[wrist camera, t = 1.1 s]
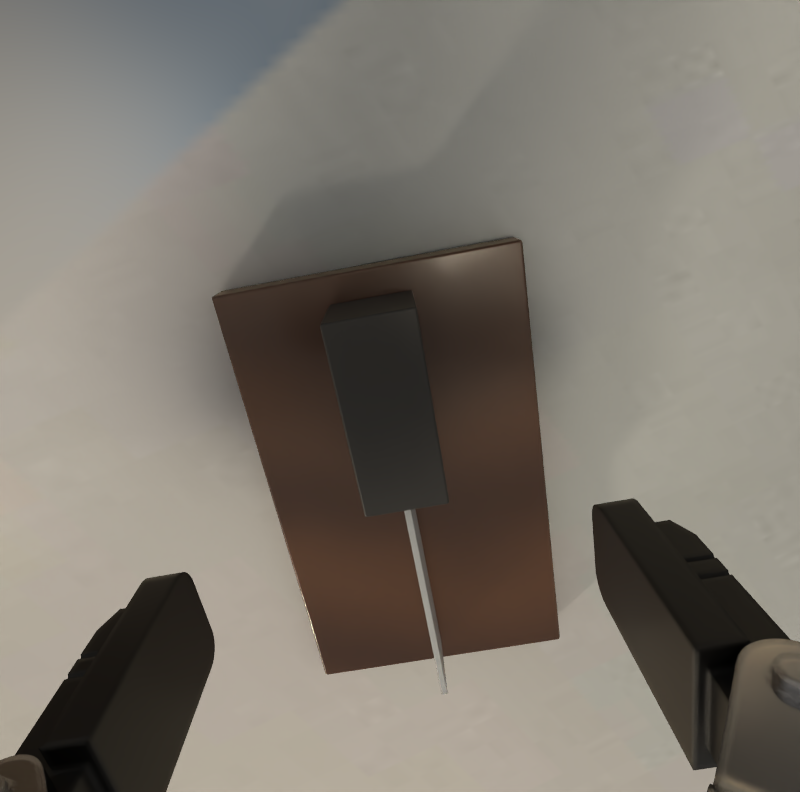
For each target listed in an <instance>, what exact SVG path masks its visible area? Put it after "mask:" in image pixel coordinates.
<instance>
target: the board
mask: <svg viewBox="0 0 800 792" xmlns="http://www.w3.org/2000/svg"><path fill="white" fill-rule="evenodd" d="M408 290H411V291H412V292H413V295H414V299H415V303H416V307H417V312H418V318H419V324H420V330H421V336H422V342H423V348H424V354H425V360H426V366H427V372H428V378H429V383H430V389H431V395H432V401H433V407H434V413H435V419H436V425H437V431H438V437H439V443H440V449H441V455H442V460H443V466H444V472H445V478H446V484H447V490H448V496H449V503H448V504H443V505H437V506H431V507H425V508H419V509H415V510H416V515H417V520H418V525H419V530H420V535H421V540H422V546H423V551H424V556H425V561H426V566H427V571H428V576H429V581H430V586H431V591H432V597H433V602H434V607H435V612H436V617H437V622H438V627H439V632H440V637H441V643H442V652H443V657H445V656H451V655H458V654H464V653H471V652H477V651H484V650H490V649H497V648H503V647H510V646H516V645H523V644H529V643H536V642H542V641H549V640H555V639H559V637H560V635H559V624H558V614H557V603H556V593H555V582H554V572H553V561H552V551H551V540H550V529H549V519H548V508H547V498H546V487H545V477H544V466H543V455H542V445H541V434H540V424H539V413H538V403H537V392H536V382H535V371H534V360H533V350H532V339H531V329H530V318H529V308H528V297H527V286H526V276H525V265H524V255H523V244H522V241H521V240H520V239H517V238H515V237H511V238H505V239H500V240H494V241H489V242H484V243H478V244H473V245H467V246H462V247H457V248H451V249H446V250H441V251H435V252H430V253H424V254H419V255H414V256H408V257H403V258H397V259H392V260H387V261H381V262H376V263H370V264H365V265H360V266H354V267H349V268H343V269H338V270H333V271H327V272H322V273H317V274H311V275H306V276H300V277H295V278H290V279H284V280H279V281H273V282H268V283H263V284H257V285H252V286H246V287H241V288H236V289H230V290H225V291H221V292H220V293H218V294H217V295H215V296H214V297H212V300H213V304H214V307H215V310H216V313H217V317H218V320H219V323H220V327H221V330H222V333H223V337H224V340H225V343H226V346H227V350H228V353H229V356H230V360H231V363H232V366H233V370H234V373H235V376H236V379H237V383H238V386H239V389H240V393H241V396H242V399H243V402H244V406H245V409H246V412H247V416H248V419H249V422H250V426H251V429H252V432H253V435H254V439H255V442H256V445H257V449H258V452H259V455H260V459H261V462H262V465H263V468H264V472H265V475H266V478H267V482H268V485H269V488H270V492H271V495H272V498H273V501H274V505H275V508H276V511H277V515H278V518H279V521H280V525H281V528H282V531H283V534H284V538H285V541H286V544H287V548H288V551H289V554H290V558H291V561H292V564H293V567H294V571H295V574H296V577H297V581H298V584H299V587H300V590H301V594H302V597H303V600H304V604H305V607H306V610H307V614H308V617H309V620H310V623H311V627H312V630H313V633H314V637H315V640H316V643H317V647H318V650H319V653H320V656H321V660H322V663H323V666H324V670H325V673H326V674H334V673H341V672H347V671H354V670H360V669H367V668H373V667H380V666H386V665H393V664H399V663H406V662H412V661H419V660H425V659H432V658H434V654H433V649H432V644H431V639H430V635H429V630H428V625H427V620H426V615H425V610H424V605H423V600H422V596H421V591H420V586H419V581H418V576H417V571H416V566H415V561H414V557H413V552H412V547H411V542H410V537H409V532H408V527H407V522H406V518H405V513H404V511H401V512H395V513H389V514H383V515H377V516H371V517H365V515H364V511H363V507H362V503H361V499H360V494H359V490H358V486H357V482H356V477H355V473H354V469H353V465H352V460H351V456H350V452H349V448H348V444H347V439H346V435H345V431H344V427H343V422H342V418H341V414H340V410H339V405H338V401H337V397H336V393H335V389H334V384H333V380H332V376H331V372H330V367H329V363H328V359H327V355H326V350H325V346H324V342H323V338H322V334H321V329H320V324H321V322H322V320H323V318H324V316H325V314H326V312H327V310H328V307H329V306H330V305H332V304H337V303H343V302H348V301H354V300H359V299H365V298H370V297H376V296H381V295H387V294H392V293H397V292H403V291H408Z"/></svg>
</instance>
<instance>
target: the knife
mask: <svg viewBox="0 0 800 792" xmlns="http://www.w3.org/2000/svg"><path fill="white" fill-rule="evenodd" d="M320 329H321V334H322V338H323V342H324V346H325V350H326V355H327V359H328V363H329V367H330V372H331V376H332V380H333V384H334V389H335V393H336V397H337V401H338V405H339V410H340V414H341V418H342V422H343V427H344V431H345V435H346V439H347V444H348V448H349V452H350V456H351V460H352V465H353V469H354V473H355V477H356V482H357V486H358V490H359V494H360V499H361V503H362V507H363V511H364V515H365V517H371V516H377V515H383V514H389V513H395V512H401V511H404V513H405V518H406V522H407V527H408V532H409V537H410V542H411V547H412V552H413V557H414V561H415V566H416V571H417V576H418V581H419V586H420V591H421V596H422V600H423V605H424V610H425V615H426V620H427V625H428V630H429V635H430V639H431V644H432V649H433V654H434V659H435V664H436V669H437V674H438V678H439V683H440V688H441V693H442V695H443V694H447V685H446V677H445V668H444V660H443V652H442V643H441V637H440V632H439V627H438V622H437V617H436V612H435V607H434V602H433V597H432V591H431V586H430V581H429V576H428V571H427V566H426V561H425V556H424V551H423V546H422V540H421V535H420V530H419V525H418V520H417V515H416V510H415V509H419V508H425V507H431V506H437V505H443V504H448V503H449V496H448V490H447V484H446V478H445V472H444V466H443V460H442V455H441V449H440V443H439V437H438V431H437V425H436V419H435V413H434V407H433V401H432V395H431V389H430V383H429V378H428V372H427V366H426V360H425V354H424V348H423V342H422V336H421V330H420V324H419V318H418V312H417V307H416V303H415V299H414V295H413V292H412V291H411V290H408V291H403V292H397V293H392V294H387V295H381V296H376V297H370V298H365V299H359V300H354V301H348V302H343V303H337V304H332V305H330V306H329V307H328V310H327V312H326V314H325V316H324V318H323V320H322V322H321V324H320Z"/></svg>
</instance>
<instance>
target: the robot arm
mask: <svg viewBox="0 0 800 792" xmlns="http://www.w3.org/2000/svg"><path fill="white" fill-rule="evenodd" d="M592 520H593V535H594V551H595V566H596V575H597V580H598V585H599V588H600V592H601V595H602V597H603V600H604V602H605V604H606V606H607V608H608V610H609V612H610V614H611V616H612V618H613V619H614V621H615V623H616V625H617V627H618V629H619V631H620V633H621V635H622V636H623V638H624V640H625V642H626V644H627V646H628V648H629V650H630V651H631V653H632V655H633V657H634V659H635V661H636V663H637V665H638V667H639V668H640V670H641V672H642V674H643V676H644V678H645V680H646V682H647V684H648V685H649V687H650V689H651V691H652V693H653V695H654V697H655V699H656V700H657V702H658V704H659V706H660V708H661V710H662V712H663V714H664V716H665V717H666V719H667V721H668V723H669V725H670V727H671V729H672V731H673V733H674V734H675V736H676V738H677V740H678V742H679V744H680V746H681V748H682V750H683V751H684V753H685V755H686V757H687V759H688V761H689V763H690V765H691V766H692V768H693V770H698V769H705V768H712V767H717V769H716V774H715V779H714V783H713V785H712V784H710V785H709V787H708V790H707V792H800V642H798V641H793V640H790V639H789V637H788V636H787V635H786V634H785V633H784V632H783V631H782V630H781V629H780V628H779V626H778V625H777V624H776V623H775V622H774V621H773V620H772V619H771V618H770V616H769V615H768V614H767V613H766V612H765V611H764V610H763V609H762V608H761V606H760V605H759V604H758V603H757V602H756V601H755V600H754V599H753V598H752V596H751V595H750V594H749V593H748V592H747V591H746V590H745V589H744V588H743V586H742V585H741V584H740V583H739V582H738V581H737V580H736V579H735V578H734V576H733V575H729V573H728V570H727V569H726V568H725V566H724V565H723V564H722V563H721V562H720V561H719V560H718V559H717V558H714V555H713V553H712V552H711V551H710V550H709V549H708V548H707V546H706V545H705V544H704V543H703V542H702V541H701V540H700V539H699V538H698V536H697V535H696V534H694V533H692V532H690V531H688V530H687V529H685V528H683V527H681V526H680V525H678V524H676V523H674V522H672V521H671V520H667V521H661V522H654V521H653V520H652V518H651V517H650V516H649V515H648V513H647V512H646V511H645V510H644V508H643V507H642V506H641V505H640V504H639V502H638V501H637V500H635V499H627V500H621V501H615V502H609V503H603V504H597V505H594V506H593V509H592ZM214 651H215V645H214V636H213V632H212V629H211V626H210V624H209V621H208V619H207V616H206V613H205V611H204V608H203V606H202V603H201V600H200V598H199V595H198V593H197V590H196V587H195V585H194V582H193V580H192V578H191V576H190V575H189V574H188V573H186V572H182V573H176V574H170V575H164V576H158V577H152V578H147V579H145V580H144V581H143V582H142V583H141V585H140V586H139V588H138V589H137V591H136V593H135V594H134V596H133V597H132V599H131V601H130V602H129V604H128V605H127V607H126V608H125V609H120V610H119V611H118V612H117V613H115V614H114V615H113V616H112V617H111V618H110V619H109V620H108V621H107V622H106V623H105V624H104V625H102V626H101V627H100V628H99V629H98V630H97V631H96V633H95V634H94V636H93V637H92V639H91V640H90V642H89V643H88V645H87V646H86V648H85V649H84V651H83V652H82V654H81V659H78V660H77V661H76V663H75V664H74V666H73V667H72V669H71V671H70V672H69V674H68V679H66V680H64V681H63V683H62V684H61V686H60V687H59V689H58V690H57V692H56V693H55V695H54V696H53V698H52V699H51V701H50V702H49V704H48V705H47V707H46V709H45V710H44V712H43V713H42V715H41V716H40V718H39V719H38V721H37V722H36V724H35V725H34V727H33V728H32V730H31V731H30V733H29V734H28V736H27V737H26V739H25V740H24V742H23V743H22V745H21V747H20V748H19V750H18V751H17V753H16V754H15V756H11V757H8V758H5V759H2V760H0V792H166V790H167V787H168V785H169V782H170V779H171V777H172V774H173V771H174V768H175V766H176V763H177V760H178V757H179V755H180V752H181V749H182V747H183V744H184V741H185V738H186V736H187V733H188V730H189V727H190V725H191V722H192V719H193V717H194V714H195V711H196V708H197V706H198V703H199V700H200V697H201V695H202V692H203V689H204V686H205V684H206V681H207V678H208V676H209V673H210V670H211V667H212V664H213V660H214Z"/></svg>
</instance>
